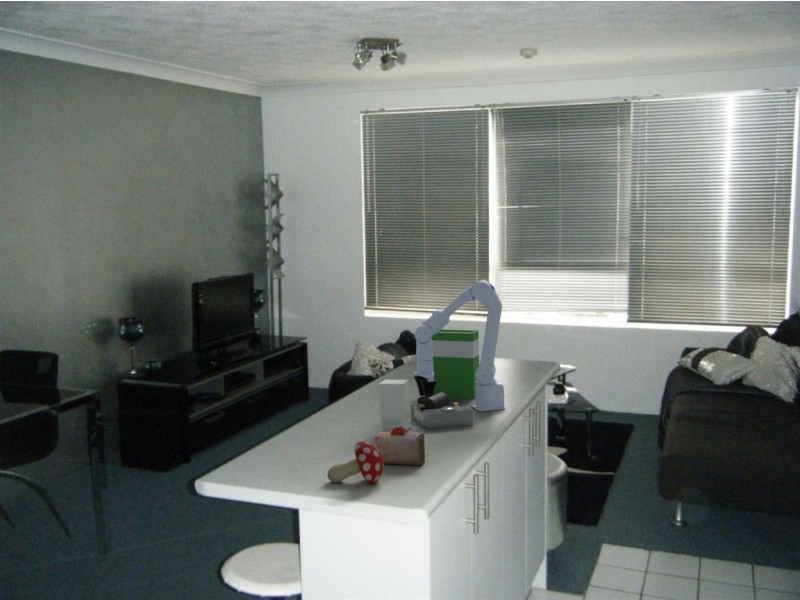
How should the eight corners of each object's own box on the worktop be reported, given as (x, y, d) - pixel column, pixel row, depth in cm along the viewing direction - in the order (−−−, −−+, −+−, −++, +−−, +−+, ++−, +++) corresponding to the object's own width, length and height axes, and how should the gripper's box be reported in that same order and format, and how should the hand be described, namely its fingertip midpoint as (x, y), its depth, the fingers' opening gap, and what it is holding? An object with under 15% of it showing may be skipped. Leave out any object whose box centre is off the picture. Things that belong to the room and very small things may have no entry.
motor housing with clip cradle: (456, 413, 270) (456, 396, 270) (473, 424, 255) (472, 407, 254) (414, 417, 267) (413, 400, 266) (428, 429, 251) (427, 412, 251)
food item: (372, 465, 217) (371, 430, 216) (380, 456, 225) (378, 422, 224) (421, 468, 214) (420, 432, 213) (427, 459, 222) (426, 424, 221)
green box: (428, 396, 297) (426, 332, 294) (434, 391, 304) (433, 329, 301) (474, 398, 290) (472, 333, 288) (479, 394, 297) (478, 330, 294)
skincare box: (411, 427, 254) (410, 379, 252) (405, 433, 248) (403, 383, 246) (387, 426, 257) (385, 378, 255) (379, 431, 251) (378, 382, 249)
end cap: (435, 419, 263) (435, 399, 263) (417, 416, 267) (416, 396, 266) (449, 412, 272) (449, 392, 271) (431, 410, 276) (431, 390, 275)
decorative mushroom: (315, 451, 203) (370, 430, 201) (330, 462, 212) (382, 442, 211) (325, 493, 197) (382, 471, 196) (340, 502, 207) (394, 481, 205)
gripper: (408, 356, 284) (409, 394, 285) (419, 364, 270) (420, 403, 271) (427, 355, 285) (428, 392, 287) (439, 362, 271) (440, 401, 273)
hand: (425, 397), depth 279 cm, fingers open, 7 cm apart
